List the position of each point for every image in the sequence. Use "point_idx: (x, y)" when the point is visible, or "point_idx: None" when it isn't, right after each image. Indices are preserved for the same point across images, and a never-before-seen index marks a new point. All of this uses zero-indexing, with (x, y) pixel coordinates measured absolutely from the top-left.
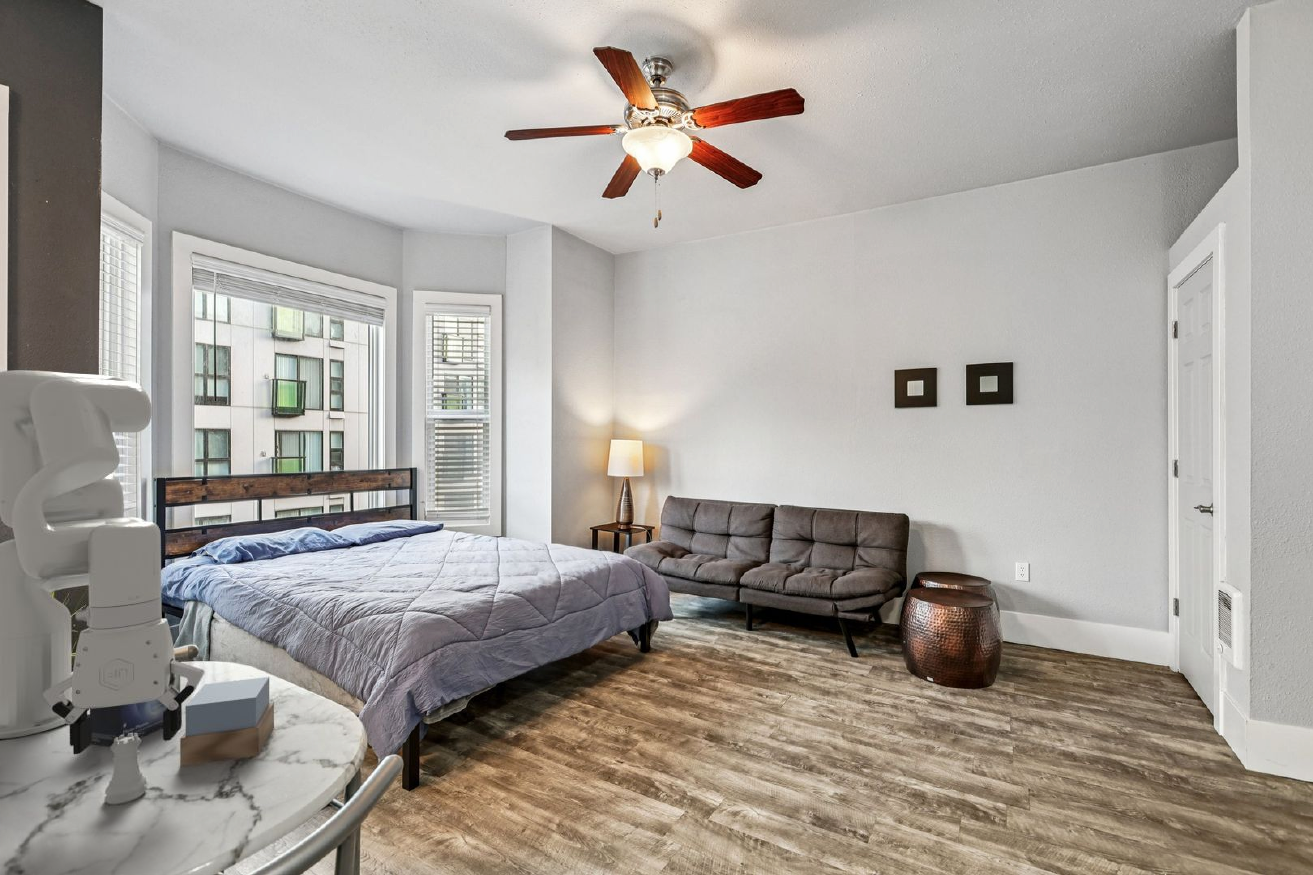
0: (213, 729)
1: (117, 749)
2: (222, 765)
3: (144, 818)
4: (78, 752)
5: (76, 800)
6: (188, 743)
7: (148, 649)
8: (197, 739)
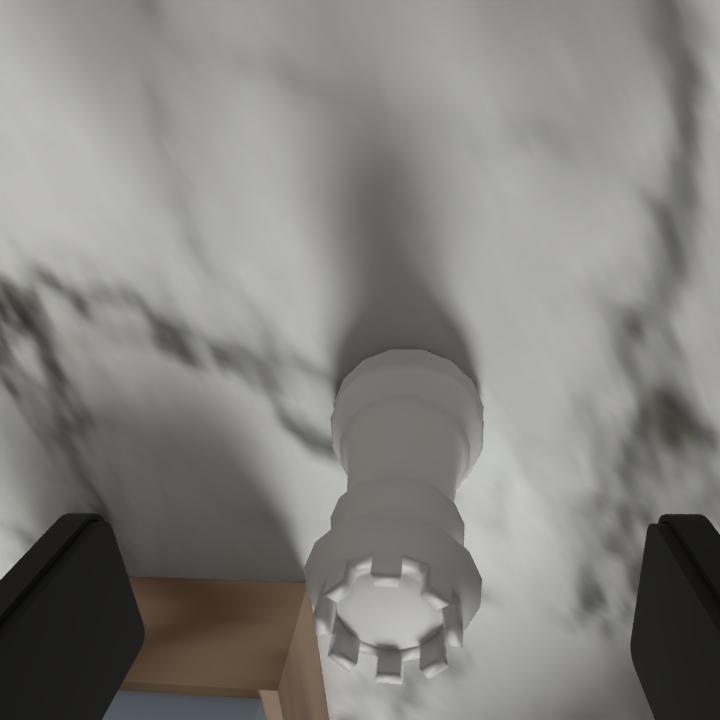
0: (143, 706)
1: (406, 520)
2: (150, 541)
3: (231, 186)
4: (667, 517)
5: (607, 443)
6: (253, 660)
7: None
8: (215, 670)
